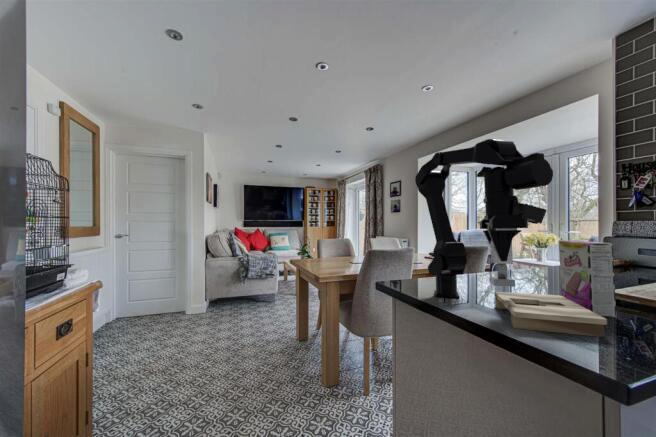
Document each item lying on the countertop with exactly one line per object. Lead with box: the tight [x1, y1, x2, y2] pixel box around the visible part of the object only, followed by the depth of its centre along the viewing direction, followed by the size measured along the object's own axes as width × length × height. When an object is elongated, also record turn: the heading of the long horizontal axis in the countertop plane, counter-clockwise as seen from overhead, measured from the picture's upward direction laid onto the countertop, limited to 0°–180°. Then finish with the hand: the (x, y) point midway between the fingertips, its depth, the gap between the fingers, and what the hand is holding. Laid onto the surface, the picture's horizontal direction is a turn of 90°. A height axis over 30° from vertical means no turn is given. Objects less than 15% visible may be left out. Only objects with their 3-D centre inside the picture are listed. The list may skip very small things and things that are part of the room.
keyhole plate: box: [494, 291, 608, 338], centre depth 60 cm, size 18×14×4 cm
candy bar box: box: [558, 239, 617, 318], centre depth 67 cm, size 11×5×16 cm, turn 168°
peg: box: [490, 241, 516, 287], centre depth 64 cm, size 4×4×10 cm
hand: (501, 260), depth 64 cm, fingers closed on peg, 4 cm apart
